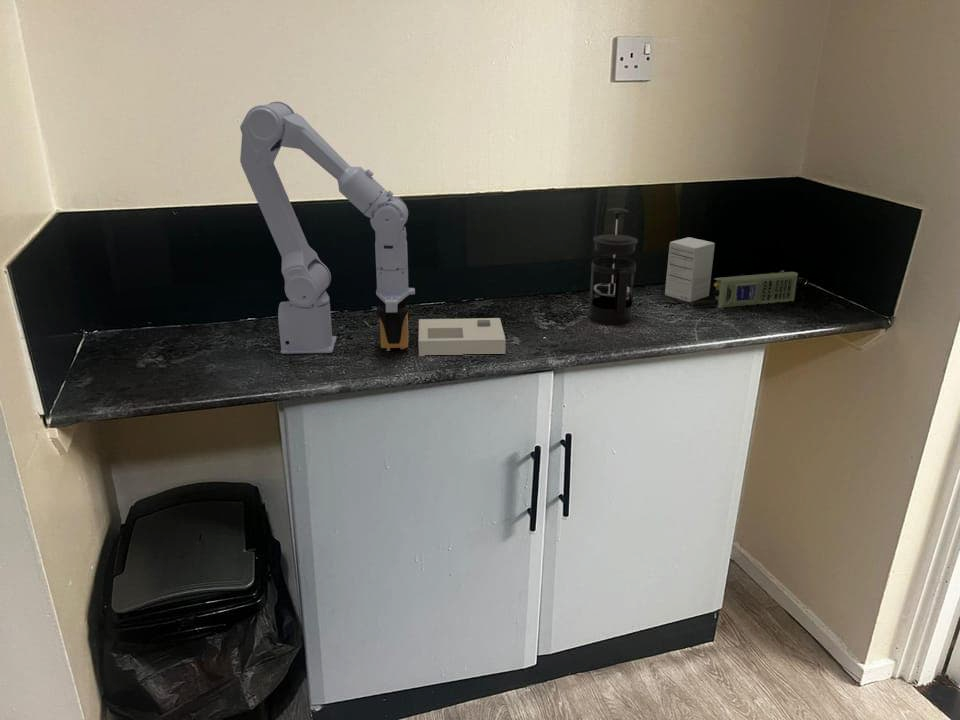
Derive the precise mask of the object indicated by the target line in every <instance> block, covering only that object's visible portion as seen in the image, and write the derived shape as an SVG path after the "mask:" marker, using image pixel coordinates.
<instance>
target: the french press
mask: <svg viewBox="0 0 960 720" xmlns="http://www.w3.org/2000/svg"><path fill="white" fill-rule="evenodd" d="M606 212H607V213H611V214H614V220H615V229H614V231H615V234H600V235H596V236H594V237H593V240H592V241H593V242H594V250H595V251H596V252H598V253H602V254H607V255H612V256H606V257H598V258H595V259H592V261H591V273H590V288H589V290H590V291H589V303H588V313H587V319H588V320H589V321H591V322H592V323H594V324H599V325H604V326H623V325H627V324H630V323H632V321H633V305H634V303H633V299H634V289H635V277H636V276H635V275H636V267H637V263H636V261H634V260H631V259H629V258H624V257H616V255H617V256H618V255H619V256H620V255H622V256H623V255H630V254H633V253H635V251H636V245H637V244H638V243H639V240H638V238H636V237H634V236H630V235H624V234H618V225H619V224H618V223H619V222H618V221H619V220H620V217H621V214H627V213H629V210H628V209H625V208H621V207H620V208H619V207H611V208H609V209H607V210H606ZM611 264H612V267H611ZM615 264H616V265H624V266H628V267H622V268H621V267H620V268H615ZM599 265H602V266H599ZM595 273H599V274H601V282H600V283H597V284H595V277H596V275H595ZM629 275H630V281H629ZM610 276H611V282H610ZM614 276H615V277H614ZM614 278H615V282H614ZM628 282H629V285H628ZM594 294H595V295H596V296H598V297H594ZM627 297H628V299H627Z"/></svg>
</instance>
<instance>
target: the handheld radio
mask: <svg viewBox="0 0 960 720" xmlns="http://www.w3.org/2000/svg"><path fill="white" fill-rule="evenodd" d="M798 274H799V273H798V272H796V271H786V272H785V271H784V272H774V273H773V272H772V273H759V274H751V275H750V274H749V275H737V276H736V275H735V276H726V277H725V276H724V277H723V276H722V277H716V278H714V280H715V282H714V283H713V286H714V287H715V288H716V289H715V290H713V291H712V296H714V297H715V299H712V300H711V299H708V300H695V301H692V306H693V307H694V308H700V307H711V306H715V307H716V308H718V309H724V308H725V307H726V308H736V306H737V307H746V305H748V306H758V305H757V304H759V305H768V303H769V304H777V302H780V303H787V302H788V303H789V301H791V302H795V298H796V297H795V296H796V289H797V281H798Z"/></svg>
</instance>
